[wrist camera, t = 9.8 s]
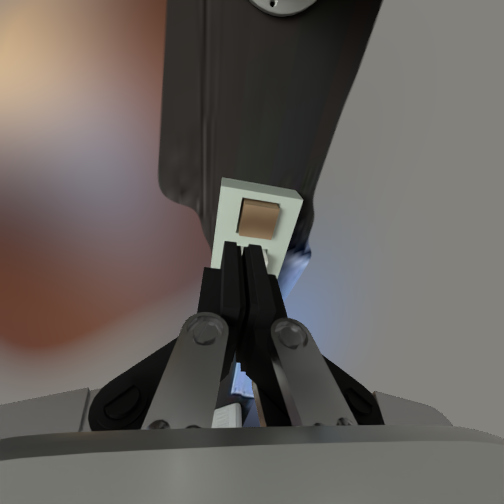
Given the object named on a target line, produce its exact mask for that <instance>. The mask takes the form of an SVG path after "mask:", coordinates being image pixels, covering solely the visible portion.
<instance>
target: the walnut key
mask: <svg viewBox="0 0 504 504" xmlns="http://www.w3.org/2000/svg"><path fill="white" fill-rule="evenodd" d="M279 211H280V209H279V207H278V205H277V203H273V202H267V201H261V200H255V199H249V198H243V201H242V206H241V211H240V217H239V222H238V229H239V236H245V237H252V238H260V239H267V240H271V239H272V236H273V232H274V228H275V225H276V221H277V218H278V214H279Z"/></svg>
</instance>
